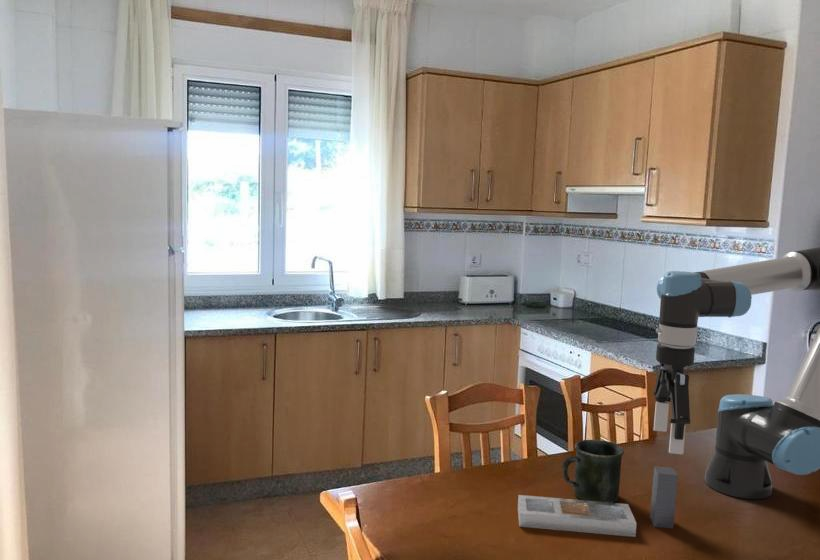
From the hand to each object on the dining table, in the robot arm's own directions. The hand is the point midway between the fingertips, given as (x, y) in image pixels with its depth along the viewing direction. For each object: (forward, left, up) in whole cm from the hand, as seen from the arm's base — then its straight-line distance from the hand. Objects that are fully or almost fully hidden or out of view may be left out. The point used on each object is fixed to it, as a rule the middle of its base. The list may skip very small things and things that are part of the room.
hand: (667, 441), depth 146 cm
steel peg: (0, 0, -18) cm, 19 cm away
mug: (+14, -11, -19) cm, 25 cm away
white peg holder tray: (+19, +3, -18) cm, 27 cm away
